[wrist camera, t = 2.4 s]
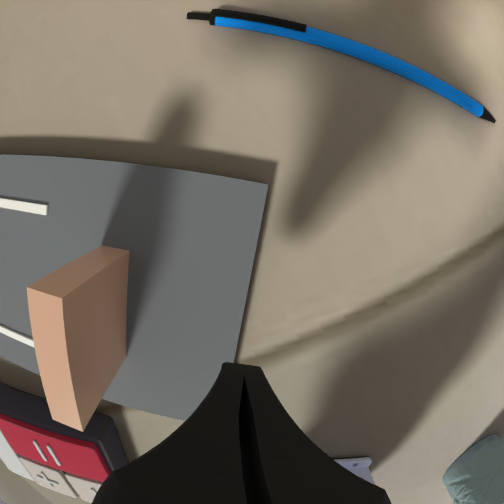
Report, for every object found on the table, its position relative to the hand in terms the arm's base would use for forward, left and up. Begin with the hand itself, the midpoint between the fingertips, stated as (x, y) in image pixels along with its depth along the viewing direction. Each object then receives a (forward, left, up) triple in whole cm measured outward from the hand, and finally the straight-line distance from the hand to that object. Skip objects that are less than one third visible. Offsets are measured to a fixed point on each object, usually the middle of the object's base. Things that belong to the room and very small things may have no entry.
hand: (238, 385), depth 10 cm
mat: (+9, 0, -5) cm, 10 cm away
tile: (+6, 0, -4) cm, 8 cm away
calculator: (+14, +16, -6) cm, 22 cm away
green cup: (-30, +16, -6) cm, 34 cm away
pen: (-4, -15, -6) cm, 17 cm away
